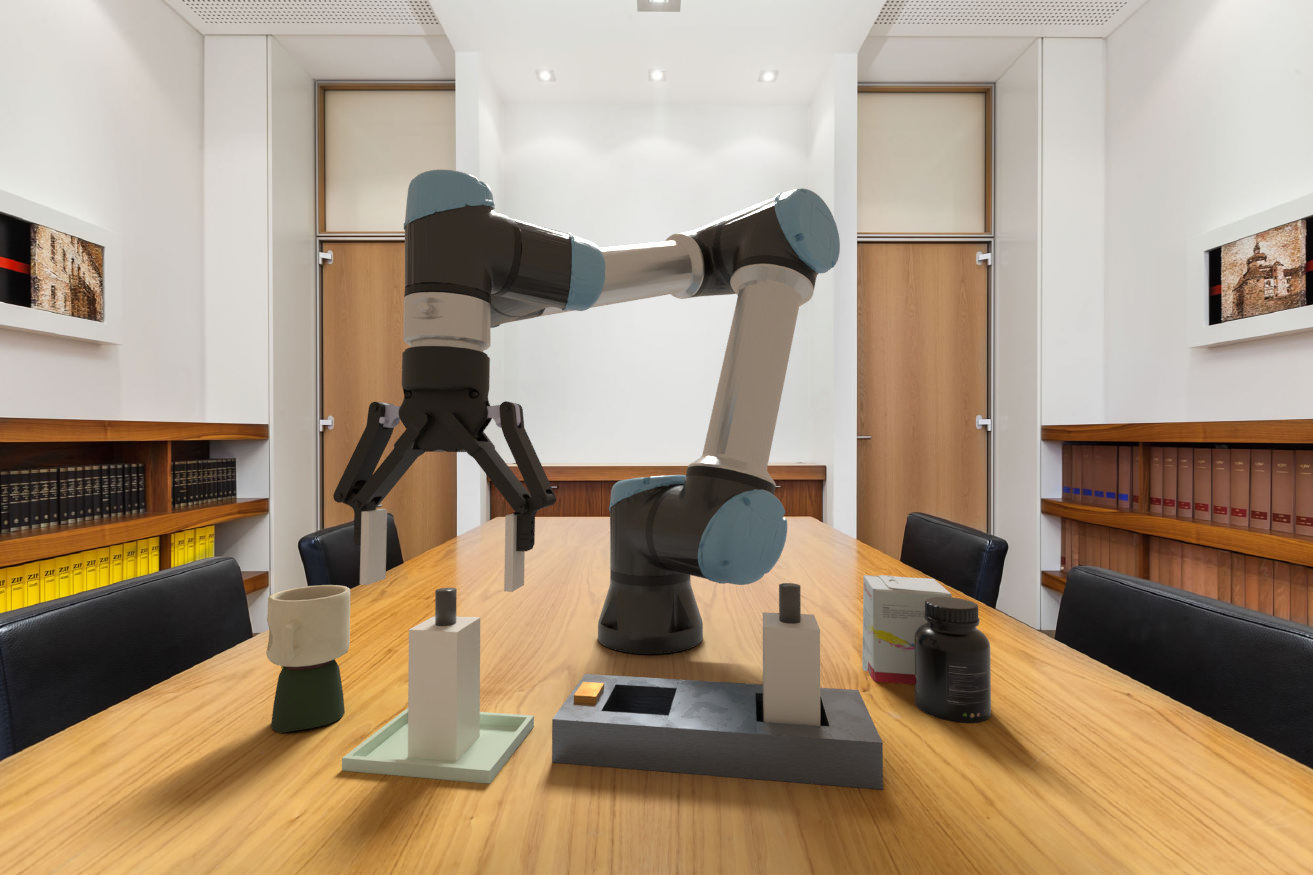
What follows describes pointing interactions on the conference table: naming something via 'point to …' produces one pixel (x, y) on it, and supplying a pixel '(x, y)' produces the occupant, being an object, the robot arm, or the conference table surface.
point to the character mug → (308, 654)
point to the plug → (444, 682)
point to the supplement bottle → (952, 662)
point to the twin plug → (791, 662)
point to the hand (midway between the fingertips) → (442, 585)
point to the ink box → (894, 624)
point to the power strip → (715, 732)
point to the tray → (475, 765)
